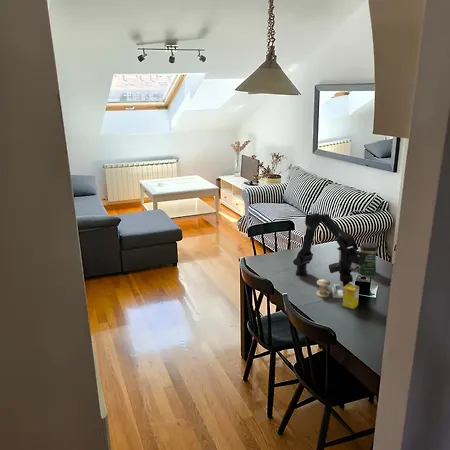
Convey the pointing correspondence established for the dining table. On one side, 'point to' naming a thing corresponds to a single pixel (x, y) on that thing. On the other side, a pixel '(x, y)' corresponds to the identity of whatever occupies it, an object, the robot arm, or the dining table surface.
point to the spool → (323, 288)
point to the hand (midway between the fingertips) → (344, 286)
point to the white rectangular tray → (337, 291)
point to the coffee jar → (368, 258)
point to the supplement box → (350, 296)
